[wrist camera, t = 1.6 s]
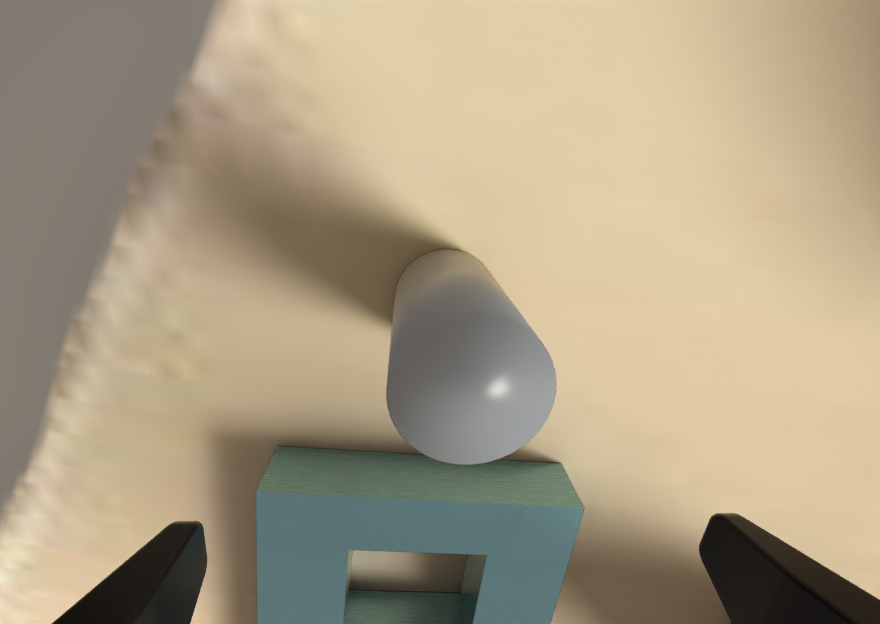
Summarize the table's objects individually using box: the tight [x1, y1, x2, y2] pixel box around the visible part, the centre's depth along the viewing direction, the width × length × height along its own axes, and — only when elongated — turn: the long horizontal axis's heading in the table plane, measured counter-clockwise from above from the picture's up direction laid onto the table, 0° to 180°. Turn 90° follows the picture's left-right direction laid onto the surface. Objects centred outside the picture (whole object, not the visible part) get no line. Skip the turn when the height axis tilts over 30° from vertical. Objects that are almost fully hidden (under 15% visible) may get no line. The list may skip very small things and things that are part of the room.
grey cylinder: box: [386, 249, 556, 465], centre depth 15 cm, size 4×4×8 cm
